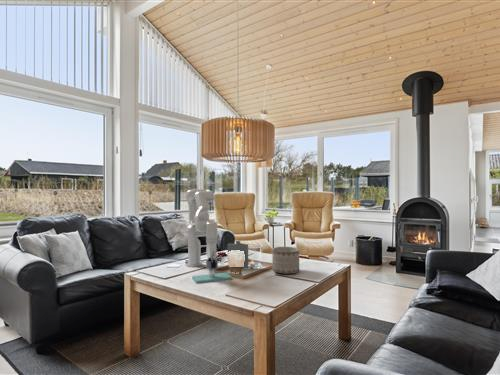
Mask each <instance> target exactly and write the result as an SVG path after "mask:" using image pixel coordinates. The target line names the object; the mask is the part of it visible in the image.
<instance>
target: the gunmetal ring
mask: <svg viewBox="0 0 500 375" xmlns="http://www.w3.org/2000/svg"><path fill="white" fill-rule="evenodd" d="M211 262H212V261H211V259H208V258H207V259H206V260H205V268H206V269H207V270H209V269H215V270H216V269H218V263H219V261H218V259H217V258H216V268H211Z"/></svg>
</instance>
